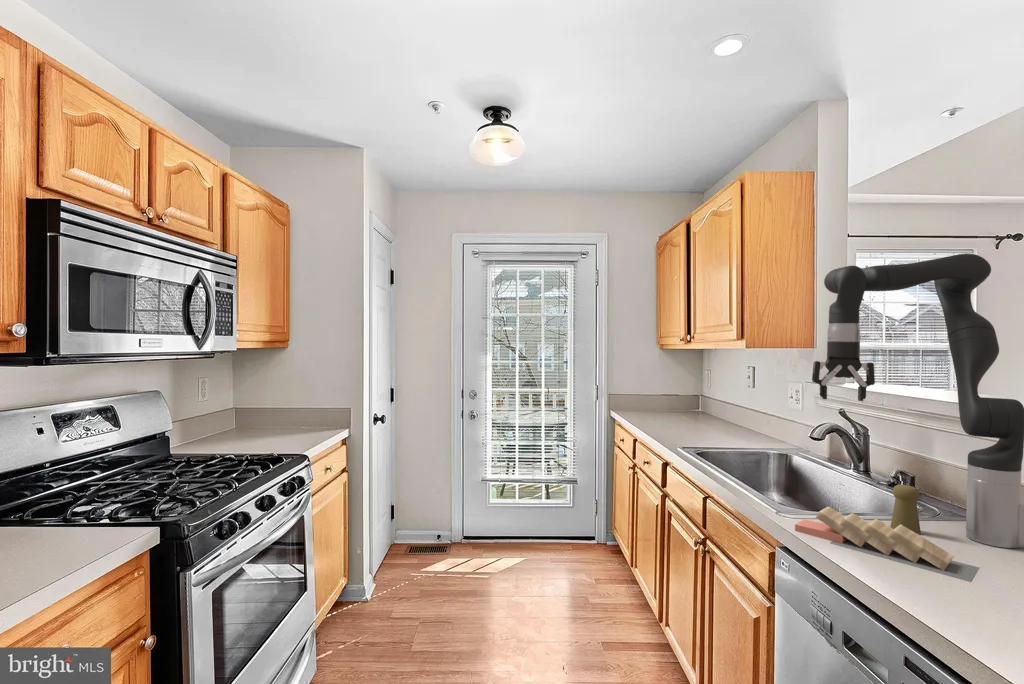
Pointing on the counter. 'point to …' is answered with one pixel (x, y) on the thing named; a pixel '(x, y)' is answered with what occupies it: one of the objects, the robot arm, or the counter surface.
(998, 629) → the counter surface
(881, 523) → the domino
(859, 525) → the domino
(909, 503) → the cork
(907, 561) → the mat
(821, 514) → the domino
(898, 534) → the domino
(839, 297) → the robot arm
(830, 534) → the domino
